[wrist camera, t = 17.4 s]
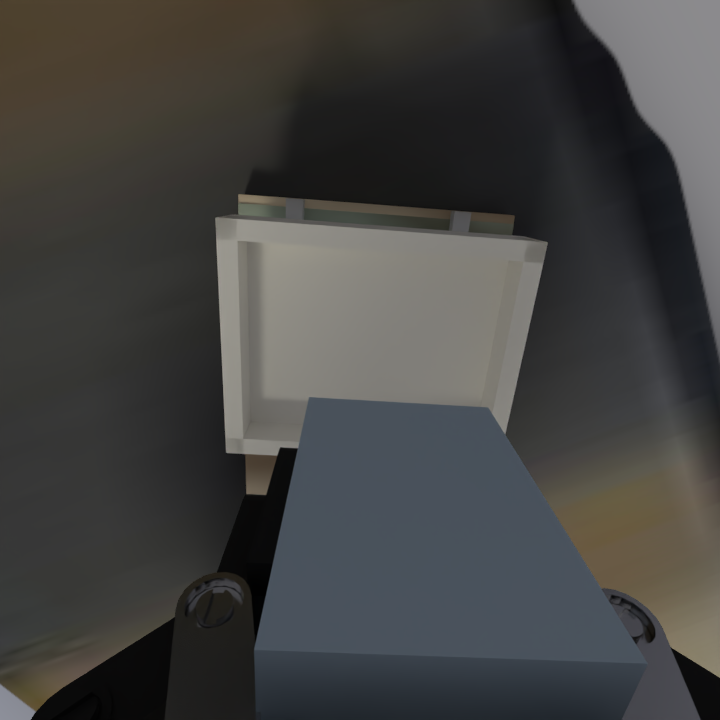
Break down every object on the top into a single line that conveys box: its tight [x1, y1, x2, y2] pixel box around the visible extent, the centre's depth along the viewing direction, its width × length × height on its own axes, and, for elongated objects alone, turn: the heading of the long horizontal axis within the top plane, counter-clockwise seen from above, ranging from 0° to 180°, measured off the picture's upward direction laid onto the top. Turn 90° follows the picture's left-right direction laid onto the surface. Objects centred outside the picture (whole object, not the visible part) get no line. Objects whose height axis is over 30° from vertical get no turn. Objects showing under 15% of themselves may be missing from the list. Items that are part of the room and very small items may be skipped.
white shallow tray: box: [215, 214, 548, 456], centre depth 25 cm, size 13×16×5 cm
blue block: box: [254, 397, 648, 720], centre depth 10 cm, size 5×5×7 cm
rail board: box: [238, 194, 515, 495], centre depth 31 cm, size 25×17×2 cm
